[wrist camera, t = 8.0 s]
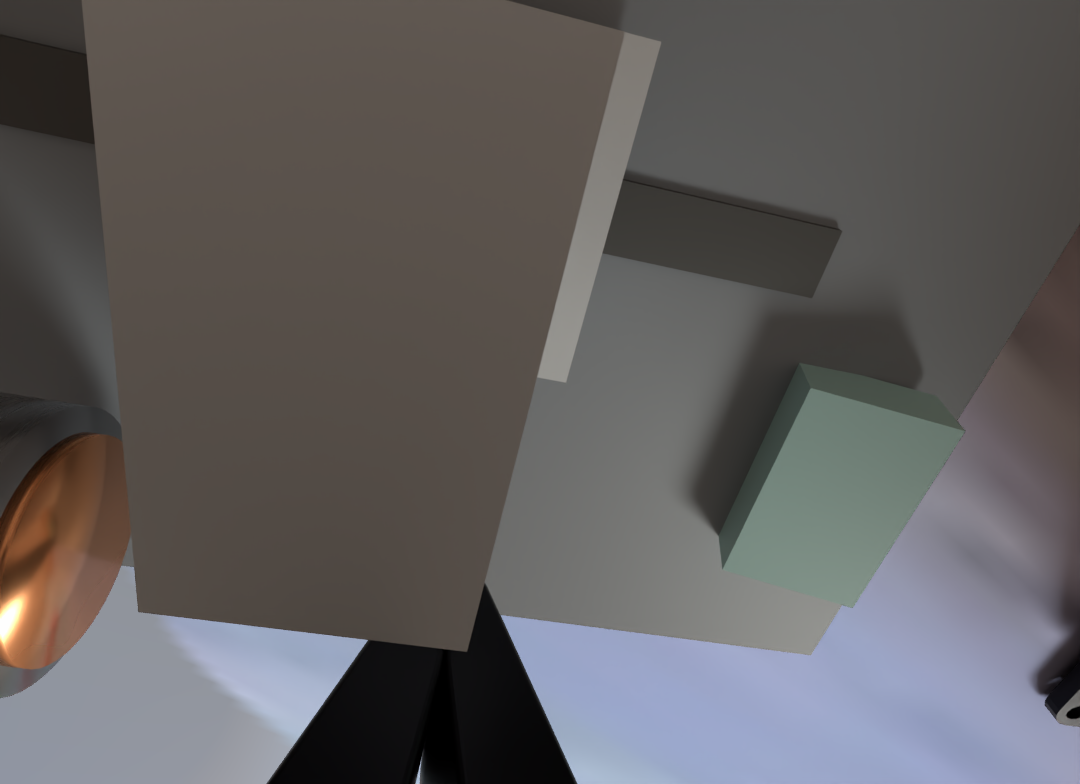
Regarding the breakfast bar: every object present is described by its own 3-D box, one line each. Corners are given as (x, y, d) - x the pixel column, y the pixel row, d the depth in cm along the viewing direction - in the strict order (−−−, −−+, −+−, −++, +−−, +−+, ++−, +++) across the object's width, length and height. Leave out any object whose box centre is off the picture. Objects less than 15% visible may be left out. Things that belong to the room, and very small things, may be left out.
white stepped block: (650, 40, 7) (869, 67, 3) (562, 360, 9) (611, 680, 4) (250, -66, 6) (-272, -243, 2) (246, 301, 8) (-42, 602, 4)
